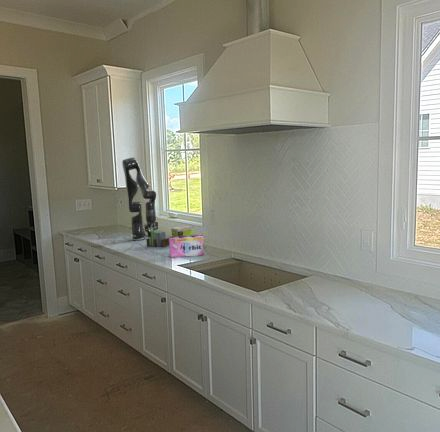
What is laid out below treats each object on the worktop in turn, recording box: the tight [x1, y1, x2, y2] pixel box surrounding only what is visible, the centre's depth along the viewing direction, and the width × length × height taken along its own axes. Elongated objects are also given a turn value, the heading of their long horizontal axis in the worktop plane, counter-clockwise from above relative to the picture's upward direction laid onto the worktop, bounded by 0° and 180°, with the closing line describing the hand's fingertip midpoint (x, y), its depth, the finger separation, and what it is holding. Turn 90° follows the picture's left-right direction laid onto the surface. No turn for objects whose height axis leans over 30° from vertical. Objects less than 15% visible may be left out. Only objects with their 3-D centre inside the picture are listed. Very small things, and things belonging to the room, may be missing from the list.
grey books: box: [156, 230, 167, 248], centre depth 323 cm, size 6×4×11 cm, turn 160°
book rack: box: [145, 237, 170, 249], centre depth 324 cm, size 10×15×7 cm, turn 70°
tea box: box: [170, 225, 195, 237], centre depth 328 cm, size 15×10×15 cm, turn 134°
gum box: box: [168, 234, 205, 258], centre depth 293 cm, size 24×8×14 cm, turn 103°
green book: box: [148, 229, 154, 246], centre depth 326 cm, size 6×2×12 cm, turn 160°
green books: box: [151, 229, 161, 246], centre depth 325 cm, size 6×4×12 cm, turn 160°
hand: (152, 235), depth 326 cm, fingers closed on green book, 6 cm apart
